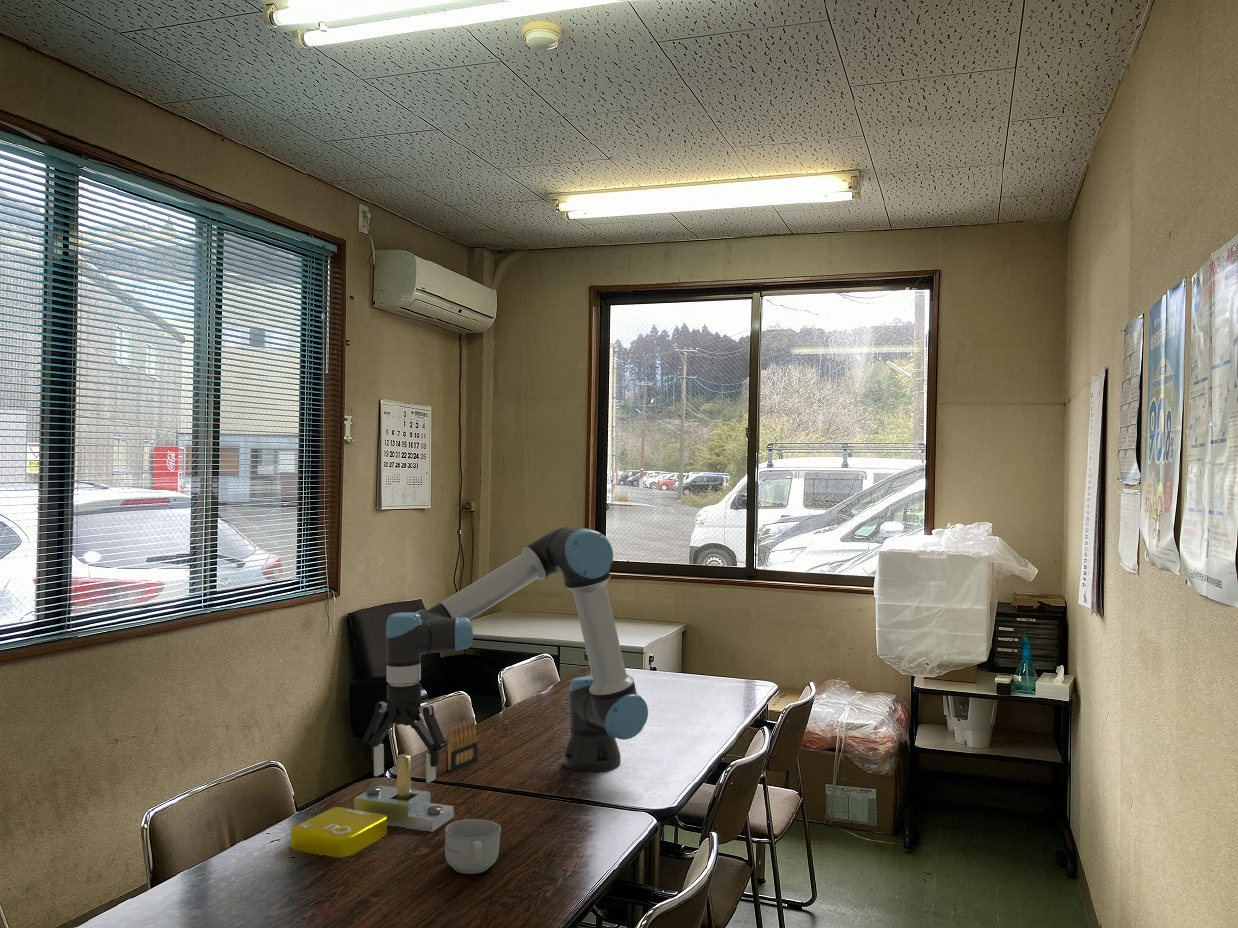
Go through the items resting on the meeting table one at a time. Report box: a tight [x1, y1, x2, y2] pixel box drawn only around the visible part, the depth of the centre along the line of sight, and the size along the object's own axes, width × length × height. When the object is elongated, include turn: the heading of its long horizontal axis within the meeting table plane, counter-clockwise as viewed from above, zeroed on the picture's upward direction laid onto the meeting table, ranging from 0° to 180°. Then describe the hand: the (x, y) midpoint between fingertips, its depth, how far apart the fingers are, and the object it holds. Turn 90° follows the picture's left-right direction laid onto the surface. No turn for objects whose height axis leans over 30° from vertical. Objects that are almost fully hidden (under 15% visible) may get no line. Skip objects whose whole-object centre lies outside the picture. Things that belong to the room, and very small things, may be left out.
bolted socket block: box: [353, 784, 455, 833], centre depth 204 cm, size 20×9×6 cm, turn 70°
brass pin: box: [396, 753, 412, 801], centre depth 205 cm, size 3×3×14 cm
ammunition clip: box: [445, 716, 479, 772], centre depth 243 cm, size 11×2×12 cm, turn 149°
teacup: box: [444, 818, 502, 875], centre depth 177 cm, size 14×11×8 cm
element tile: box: [290, 806, 388, 857], centre depth 192 cm, size 15×15×5 cm
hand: (404, 777), depth 205 cm, fingers open, 13 cm apart
